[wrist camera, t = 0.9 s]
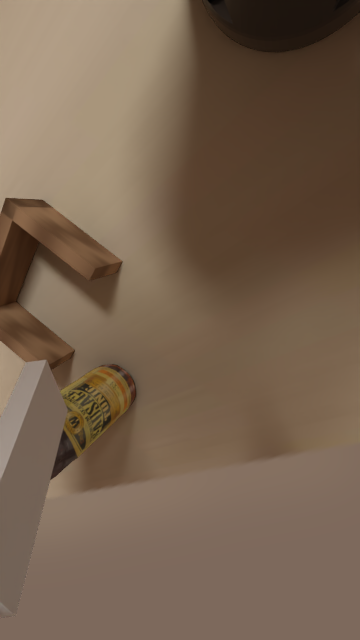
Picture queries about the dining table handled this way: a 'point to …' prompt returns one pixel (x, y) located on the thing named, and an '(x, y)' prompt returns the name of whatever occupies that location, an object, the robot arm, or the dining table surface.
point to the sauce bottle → (92, 410)
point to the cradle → (13, 263)
